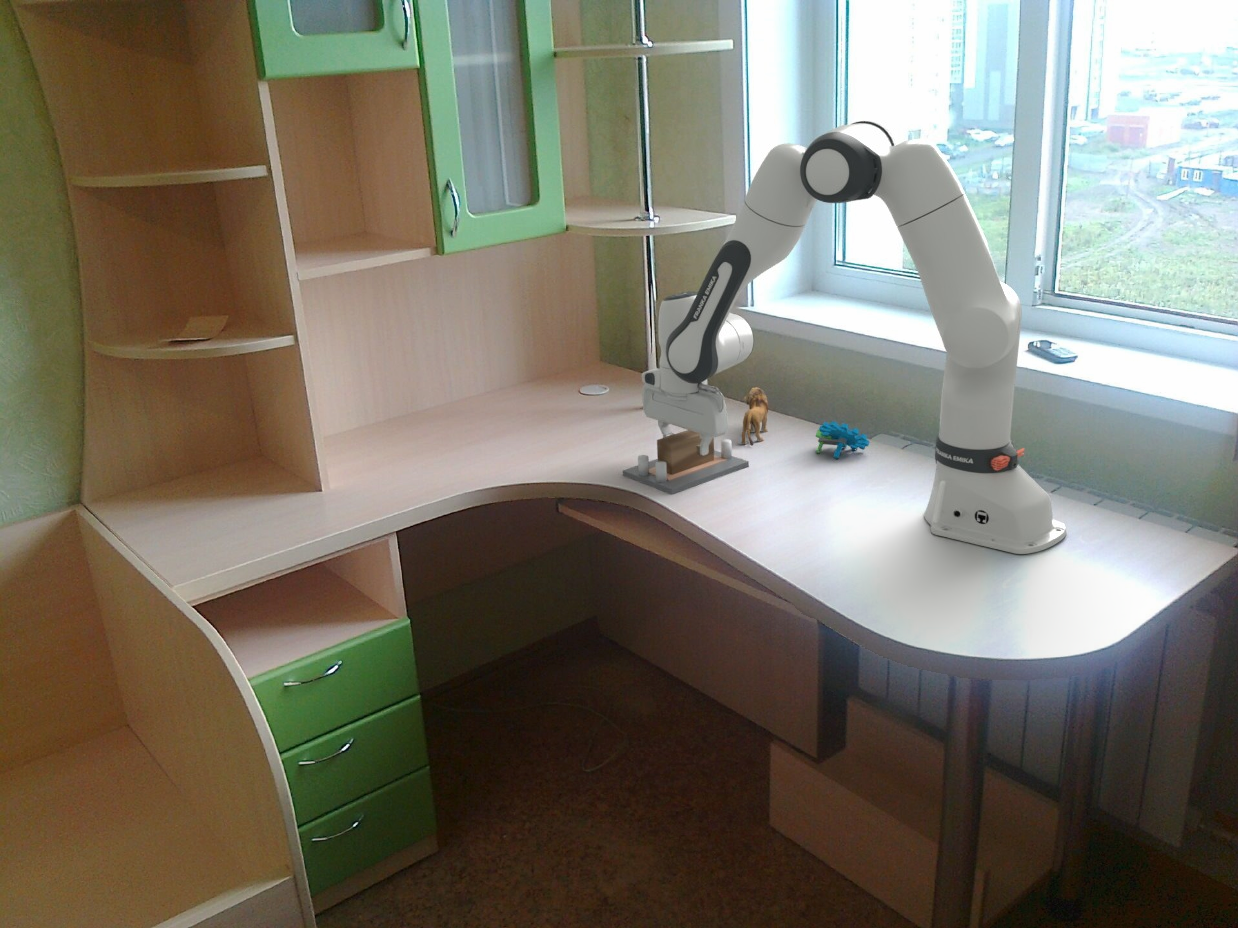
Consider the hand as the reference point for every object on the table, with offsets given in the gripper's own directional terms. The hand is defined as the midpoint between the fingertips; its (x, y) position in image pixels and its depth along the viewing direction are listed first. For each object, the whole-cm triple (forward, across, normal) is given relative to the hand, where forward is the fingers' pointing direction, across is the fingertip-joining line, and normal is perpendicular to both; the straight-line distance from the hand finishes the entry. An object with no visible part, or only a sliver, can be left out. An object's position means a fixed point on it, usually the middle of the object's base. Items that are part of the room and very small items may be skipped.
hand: (685, 448), depth 208 cm
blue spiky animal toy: (+5, -15, -28) cm, 32 cm away
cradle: (+5, 0, 0) cm, 5 cm away
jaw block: (+3, 0, 0) cm, 3 cm away
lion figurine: (+5, +5, -24) cm, 25 cm away
